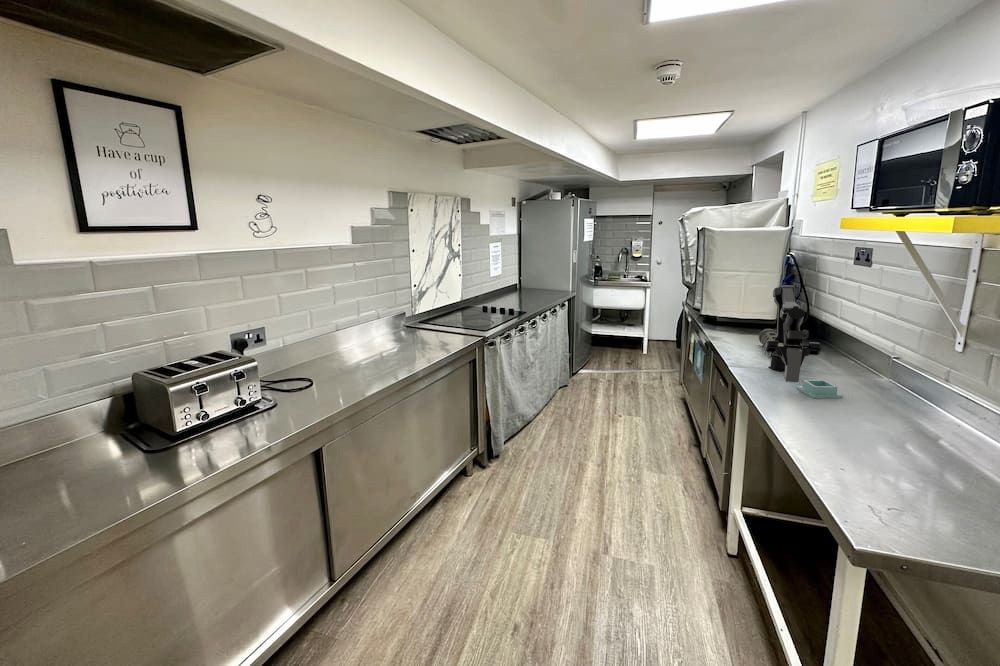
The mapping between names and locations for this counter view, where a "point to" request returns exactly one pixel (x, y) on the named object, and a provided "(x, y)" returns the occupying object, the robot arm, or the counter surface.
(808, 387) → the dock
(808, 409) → the counter surface
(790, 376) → the plug
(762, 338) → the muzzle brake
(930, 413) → the counter surface
